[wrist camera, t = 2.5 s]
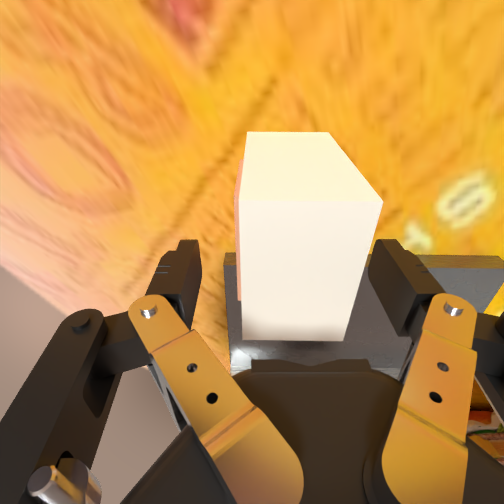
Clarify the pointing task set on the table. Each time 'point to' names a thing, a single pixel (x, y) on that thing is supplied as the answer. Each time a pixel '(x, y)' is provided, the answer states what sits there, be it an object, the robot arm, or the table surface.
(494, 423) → the burger
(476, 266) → the l-shaped metal bracket
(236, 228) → the product carton
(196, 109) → the table surface
